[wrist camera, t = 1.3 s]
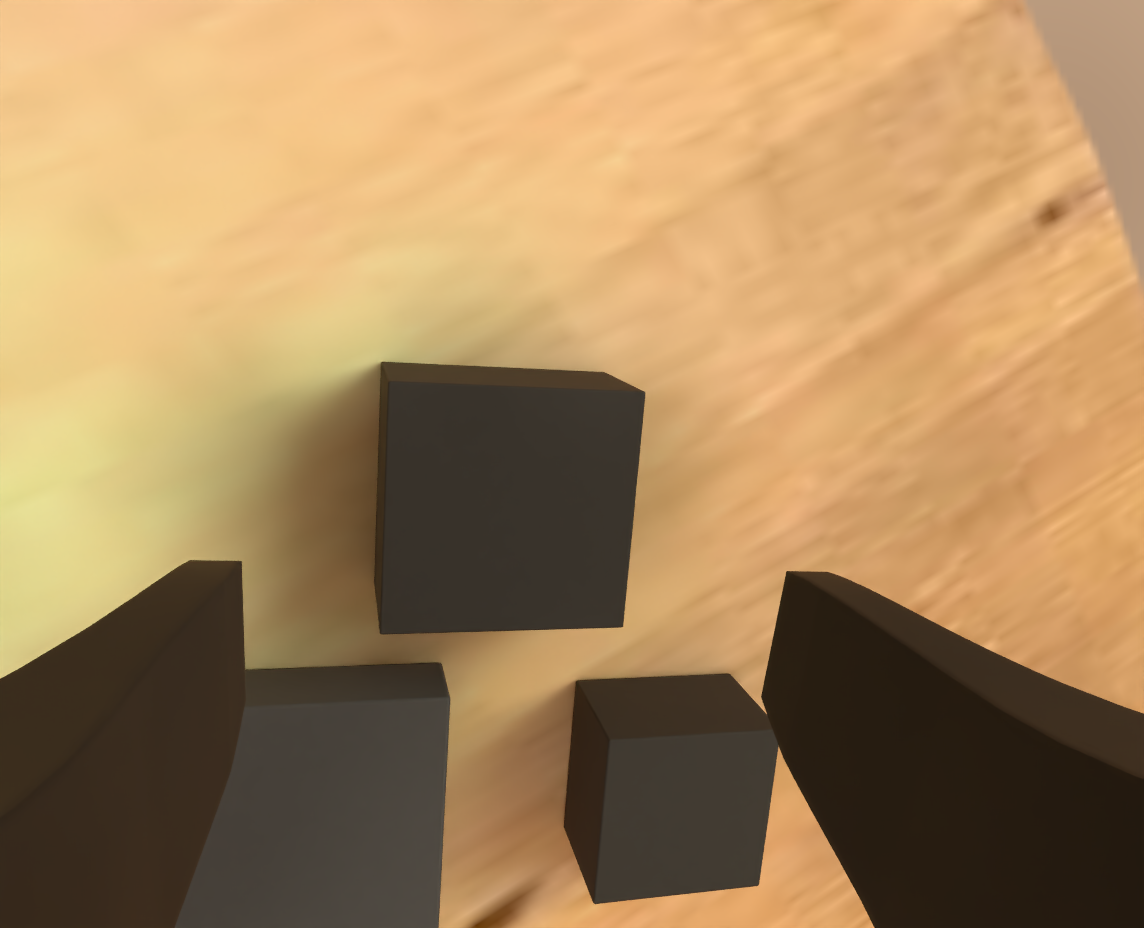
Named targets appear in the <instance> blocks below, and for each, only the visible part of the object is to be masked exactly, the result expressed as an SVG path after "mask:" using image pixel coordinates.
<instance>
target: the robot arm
mask: <svg viewBox="0 0 1144 928" xmlns="http://www.w3.org/2000/svg"><path fill="white" fill-rule="evenodd" d="M761 698H762V700H763V703H764V706H765V709H766V712H767V715H768V718H769V721H770V724H771V726H772V729H773V732H774V735H775V737H776V740H777V742H778V745H779V748H780V750H781V753H782V755H783V758H784V760H785V762H786V764H787V766H788V768H789V770H790V772H791V773H792V775H793V777H794V779H795V781H796V783H797V785H798V787H799V788H800V790H801V792H802V794H803V796H804V798H805V800H806V801H807V803H808V805H809V807H810V809H811V811H812V812H813V814H814V816H815V818H816V820H817V821H818V823H819V825H820V827H821V829H822V830H823V832H824V834H825V836H826V838H827V839H828V841H829V843H830V845H831V847H832V849H833V850H834V852H835V854H836V856H837V858H838V859H839V861H840V863H841V865H842V867H843V868H844V870H845V872H846V874H847V876H848V878H849V879H850V881H851V883H852V885H853V887H854V888H855V890H856V892H857V894H858V896H859V897H860V899H861V901H862V903H863V905H864V907H865V909H866V911H867V913H868V915H869V917H870V919H871V921H872V923H873V925H874V927H875V928H1144V714H1143V713H1140V712H1137V711H1134V710H1131V709H1129V708H1126V707H1123V706H1120V705H1117V704H1115V703H1112V702H1110V701H1107V700H1104V699H1102V698H1099V697H1097V696H1094V695H1092V694H1089V693H1086V692H1084V691H1081V690H1079V689H1076V688H1074V687H1071V686H1068V685H1066V684H1063V683H1061V682H1059V681H1056V680H1054V679H1051V678H1049V677H1047V676H1044V675H1042V674H1040V673H1037V672H1035V671H1033V670H1031V669H1029V668H1027V667H1024V666H1022V665H1020V664H1018V663H1016V662H1014V661H1011V660H1009V659H1007V658H1005V657H1003V656H1001V655H998V654H996V653H994V652H992V651H990V650H988V649H986V648H984V647H982V646H980V645H978V644H976V643H974V642H972V641H970V640H967V639H965V638H963V637H961V636H960V635H958V634H956V633H954V632H952V631H950V630H948V629H946V628H944V627H942V626H940V625H938V624H936V623H934V622H932V621H930V620H928V619H926V618H924V617H922V616H921V615H919V614H917V613H915V612H913V611H911V610H909V609H907V608H905V607H903V606H901V605H899V604H897V603H895V602H894V601H892V600H890V599H888V598H886V597H884V596H882V595H880V594H878V593H876V592H874V591H872V590H870V589H868V588H866V587H863V586H861V585H859V584H857V583H855V582H853V581H850V580H848V579H846V578H843V577H841V576H838V575H835V574H832V573H829V572H799V571H787V572H786V577H785V582H784V587H783V592H782V597H781V601H780V606H779V611H778V616H777V621H776V626H775V631H774V636H773V641H772V646H771V651H770V656H769V661H768V666H767V671H766V676H765V681H764V686H763V691H762V696H761ZM245 703H246V688H245V656H244V624H243V592H242V561H201V560H190V561H188V562H186V563H184V564H182V565H181V566H179V567H177V568H176V569H174V570H173V571H171V572H170V573H168V574H167V575H165V576H164V577H162V578H161V579H159V580H158V581H156V582H155V583H154V584H152V585H151V586H149V587H148V588H146V589H145V590H143V591H142V592H140V593H139V594H138V595H136V596H135V597H133V598H132V599H130V600H129V601H127V602H126V603H124V604H123V605H121V606H120V607H118V608H117V609H115V610H114V611H112V612H111V613H109V614H108V615H106V616H105V617H103V618H102V619H100V620H99V621H97V622H96V623H94V624H93V625H91V626H90V627H88V628H86V629H85V630H83V631H81V632H80V633H78V634H76V635H75V636H73V637H71V638H70V639H68V640H66V641H65V642H63V643H61V644H60V645H58V646H56V647H55V648H53V649H51V650H50V651H48V652H46V653H45V654H43V655H41V656H40V657H38V658H36V659H35V660H33V661H31V662H30V663H28V664H26V665H25V666H23V667H21V668H19V669H18V670H16V671H14V672H12V673H10V674H8V675H7V676H5V677H3V678H1V679H0V928H175V925H176V922H177V920H178V917H179V914H180V911H181V909H182V906H183V903H184V900H185V898H186V895H187V892H188V889H189V887H190V884H191V881H192V878H193V876H194V873H195V870H196V867H197V865H198V862H199V859H200V856H201V854H202V851H203V848H204V845H205V843H206V840H207V837H208V834H209V832H210V829H211V826H212V823H213V820H214V818H215V815H216V812H217V809H218V806H219V804H220V801H221V798H222V795H223V792H224V790H225V787H226V784H227V781H228V778H229V775H230V772H231V769H232V764H233V760H234V755H235V751H236V746H237V742H238V737H239V732H240V727H241V722H242V718H243V713H244V708H245Z"/></svg>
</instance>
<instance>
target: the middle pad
mask: <svg viewBox="0 0 1144 928" xmlns="http://www.w3.org/2000/svg"><path fill="white" fill-rule="evenodd" d="M644 402H645V392H644V391H642V390H640V389H638V388H636V387H634V386H631V385H629V384H627V383H625V382H623V381H621V380H619V379H617V378H615V377H613V376H611V375H609V374H607V373H605V372H587V371H565V370H544V369H523V368H501V367H480V366H459V365H437V364H416V363H395V362H382V363H381V380H380V412H379V445H378V478H377V511H376V544H375V577H374V584H375V593H376V602H377V612H378V621H379V630H380V634H413V633H447V632H481V631H515V630H549V629H583V628H618V627H623V622H624V611H625V601H626V590H627V580H628V569H629V559H630V549H631V538H632V528H633V517H634V507H635V496H636V486H637V475H638V465H639V455H640V444H641V434H642V423H643V413H644Z"/></svg>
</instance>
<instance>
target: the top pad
mask: <svg viewBox="0 0 1144 928" xmlns="http://www.w3.org/2000/svg"><path fill="white" fill-rule="evenodd" d="M777 752H778V742H777V740H776V737H775V735H774V732H773V729H772V726H771V724H770V721H769V718H768V715H767V714H766V713H765V712H764V711H763V710H762V709H761V708H760V707H759V705H758V704H757V703H756V702H755V701H754V700H753V699H752V698H751V697H750V696H749V695H748V693H747V692H746V691H745V690H744V689H743V688H742V687H741V686H740V685H739V684H738V682H737V681H736V680H735V679H734V678H733V677H732V676H731V675H730V674H714V675H691V676H669V677H646V678H624V679H602V680H579V681H577V682H576V692H575V704H574V715H573V727H572V739H571V751H570V762H569V774H568V786H567V798H566V810H565V821H564V828H565V831H566V833H567V836H568V839H569V841H570V844H571V846H572V849H573V852H574V854H575V857H576V859H577V862H578V864H579V867H580V870H581V872H582V875H583V877H584V880H585V883H586V885H587V888H588V890H589V893H590V896H591V898H592V901H593V903H594V904H599V903H608V902H617V901H626V900H635V899H644V898H653V897H662V896H671V895H680V894H689V893H698V892H707V891H716V890H725V889H734V888H743V887H752V886H758V885H759V880H760V873H761V866H762V859H763V852H764V845H765V837H766V830H767V823H768V816H769V809H770V802H771V795H772V788H773V781H774V774H775V766H776V759H777Z"/></svg>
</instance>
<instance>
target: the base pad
mask: <svg viewBox="0 0 1144 928" xmlns="http://www.w3.org/2000/svg"><path fill="white" fill-rule="evenodd" d="M245 688H246V703H245V708H244V713H243V718H242V722H241V727H240V732H239V737H238V742H237V746H236V751H235V755H234V760H233V764H232V769H231V772H230V775H229V778H228V781H227V784H226V787H225V790H224V792H223V795H222V798H221V801H220V804H219V806H218V809H217V812H216V815H215V818H214V820H213V823H212V826H211V829H210V832H209V834H208V837H207V840H206V843H205V845H204V848H203V851H202V854H201V856H200V859H199V862H198V865H197V867H196V870H195V873H194V876H193V878H192V881H191V884H190V887H189V889H188V892H187V895H186V898H185V900H184V903H183V906H182V909H181V911H180V914H179V917H178V920H177V922H176V925H175V928H439V908H440V889H441V870H442V850H443V831H444V811H445V792H446V773H447V753H448V734H449V715H450V696H449V692H448V688H447V684H446V680H445V676H444V672H443V667H442V664H441V663H419V664H392V665H366V666H339V667H313V668H286V669H260V670H245Z"/></svg>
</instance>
